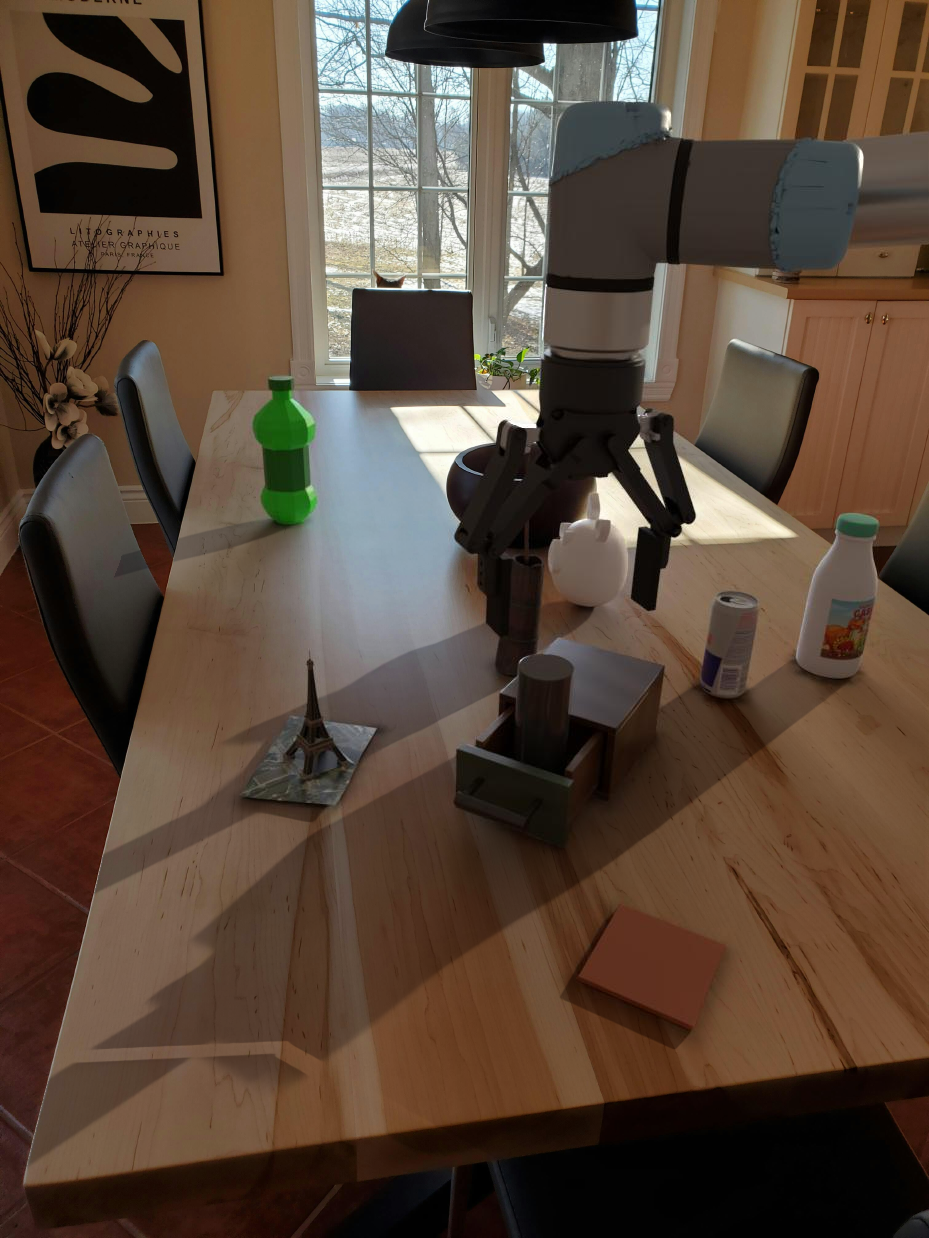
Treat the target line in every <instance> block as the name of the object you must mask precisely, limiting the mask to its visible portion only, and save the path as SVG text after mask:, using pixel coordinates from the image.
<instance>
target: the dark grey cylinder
mask: <svg viewBox="0 0 929 1238" xmlns="http://www.w3.org/2000/svg"><path fill="white" fill-rule="evenodd" d="M516 677H517V691H516V710H515V729H514V748H513V760H515V761H518V762H521V763H524V764H527V765H530V766H533V767H536V768H539V769H542V770H545V771H548V772H551V773H554V774H557V775H560V776H563V777H564V773H565V769H566V761H567V750H568V738H569V726H570V714H571V702H572V690H573V678H574V666H573V665H572V663H571V662H570V661H568V660H567V659H565V658H563V657H560V656H557V655H552V654H542V653H537V654H533V655H529V656H527V657H524V658H523V659H521V660H520V662H519V663H518V672H517V676H516Z"/></svg>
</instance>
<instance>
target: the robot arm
mask: <svg viewBox="0 0 929 1238" xmlns="http://www.w3.org/2000/svg"><path fill="white" fill-rule="evenodd" d="M673 135H674V129H673V128H672V113H671V109H669V107H667V105H664V104H662V103H657V102H653V101H652V102H649V101H625V100H593V101H581V102H576V103H572V104H570V105H568V106H567V107H566V108H565V109H563V111H562V112H561V113H560V115H559V116H558V118H557V122H556V128H555V139H554V147H553V156H552V157H553V158H552V167H551V174H550V175H551V176H550V177H549V179H548V187H549V198H548V199H549V200H548V230H547V231H548V232H547V252H546V253H547V254H546V255H547V257H546V274H545V286H544V303H543V306H544V307H543V320H542V338H541V340H542V341H543V343H544V344H545V345H547V346H548V347H549V349H546V350H545V351H544V352H543V353H542V354H541V356H540V364H539V365H540V367H539V386H538V403H539V415H538V417H537V420H536V421H535V423H534V424H523V423H522V424H521V423H515V422H513V421H511V420H510V419H503V420H501V421H500V422H499V424H498V426H497V431H496V437H495V438H496V439H495V445H494V451H493V453H492V455H491V457H490V459H489V461H488V463H487V465H486V467H485V470H484V471H483V474H482V476H481V478H480V480H479V482H478V484H477V486H476V488H475V490H474V492H473V495H472V497H471V498H470V501H469V503H468V505H467V507H466V509H465V511H464V513H463V515H462V518H461V520H460V522H459V523H458V526H457V528H456V530H455V532H454V535H453V538H454V541H455V542H456V544H458V545H459V546H460V547H461V548H463V549H464V551H465V552H467V553H468V554H470V555H477V573H476V574H477V578H476V581H477V582H476V585H477V587H478V589H479V591H480V592H481V593H482V594H483V595H484V596H485V597H486V601H485V602H486V603H485V605H486V606H485V624H486V625H487V626H488V627H489V629H491V630H492V631H493V632H494V633H495V634H496V636H497V637H499V638H500V637H504V636H508V634H509V613H510V591H511V570H512V558H513V557H512V556H509V555H508V554H507V553H506V550H507V549H508V548H509V546H510V545H511V544H512V543H513V541H515V539H516V538H517V536H518V535H519V534H520V533H521V531H522V530H523V529H524V528H525V525H526V523H527V522H528V521H529V522H530V520H531V518H532V517H533V516H534V515H535V513H536V512H537V510H538V509H539V508H540V507H541V506H542V504H543V503H544V501H545V500H546V499H547V498H548V496H549V495H550V494H551V493H552V492H553V491H555V490H558V489H559V488H560V487H561V486H562V485H563V484H564V482H565V480H566V479H568V480H570V481H571V482H576V481H582V480H586V479H588V478H590V477H592V478H597V479H603V478H604V479H605V478H608V477H609V474H612V476H614V478H615V479H616V481H618V483H619V485H620V486H621V488H623V490H624V491H625V493H626V494H627V495H628V498H630V500H631V501H632V502H633V504H634V505H635V507H636V508H637V510H638V511H639V512H640V513H641V514H642V517H643V518H644V519H645V520H646V522H647V524H648V525H650V526H649V527H648V526H647V525H644V526H638V528H637V537H636V546H635V554H634V555H635V556H634V565H633V572H632V573H633V574H632V583H631V591H630V600H631V601H633V602H634V603H636V604H637V605H638V606H640V607H641V608H643V609H644V610H645V611H647V612H651V611H656V609H657V601H658V594H659V587H660V586H659V585H660V578H661V570H663V569H666V568H667V566H668V564H669V561H670V560H669V559H670V551H671V543H672V538H673V539H675V538H676V539H677V538H678V537H680V536H681V534H682V532H683V525H692V524H693V523H694V522H695V520H696V518H697V513H696V510H695V506H694V504H693V500H692V497H691V494H690V491H689V487H688V485H687V481H686V478H685V475H684V472H683V468H682V466H681V462H680V458H679V456H678V453H677V449H676V447H675V446H676V445H675V443H674V435H675V434H674V431H675V419H674V416H673V415H671V414H670V413H667V412H664V411H662V410H659V409H657V408H654V407H649V408H647V409H645V410H644V412H643V413H642V414H638V407H639V406H640V405H641V404H642V401H643V394H644V393H643V392H644V382H645V373H646V365H647V364H646V363H647V360H646V359H645V358H644V355H643V354H641V353H640V351H641V350H644V349H645V348H647V346H648V345H649V341H650V330H651V318H652V309H653V297H654V287H655V273H656V268H657V264H668V265H672V266H673V265H677V266H679V265H693V266H695V265H696V266H706V267H707V266H709V267H723V268H724V267H725V268H741V269H757V270H758V269H761V270H778V271H780V272H781V273H786V274H790V273H792V272H798V271H828V270H832V269H834V268H836V267H837V266H839V265H840V263H841V262H843V260H844V258H845V257H846V253H847V251H848V250H861V249H875V248H877V249H878V248H890V247H892V248H893V247H907V246H921V245H922V246H923V245H924V246H925V245H929V130H928V131H927V130H926V131H917V132H907V133H900V134H889V135H881V136H879V135H878V136H869V137H861V138H851V139H850V138H849V139H843V140H823V139H820V138H815V137H812V136H811V137H803V138H800V139H799V138H798V139H797V138H794V139H793V138H792V139H791V138H788V139H786V138H785V139H779V138H778V139H775V138H774V139H769V138H768V139H767V138H766V139H765V138H764V139H763V138H762V139H709V140H708V139H707V140H705V139H703V140H699V139H698V140H695V139H694V138H684V137H677V136H676V137H675V136H673ZM638 437H640V439H641V440H643V445H644V448H645V452H646V454H647V457H648V460H649V463H650V466H651V469H652V472H653V475H654V478H655V482H656V484H657V487H658V489H659V493H660V495H661V498H662V501H661V499H660V498H659V496H658V495H657V493H656V492H655V490H654V489H653V487H652V486H651V485H650V483H649V481H648V480H647V479H646V477H645V475H643V473H642V472H641V471H642V468H641V467H640V465H639V463H638V462H637V460H636V459H635V458H634V457H633V455H632V454H631V452H630V448H631V447H632V445H633V444H634V443H635V441H636V440H637V438H638ZM533 444H536V445H537V447H538V448H539V451H538V453H537V454H536V455H535V456H534V457H533V458H532V460H530V464H529V465H528V468H527V473H526V475H525V474H524V475H523V477H522V478H521V480H520V481H519V482H518V484H517V485H516V486H515V488H514V489H513V490H512V491H511V493H510V494H509V492H510V490H511V488H512V486H513V484H514V482H515V480H516V478H517V475H518V474H519V471H520V470H521V466H522V465H523V461H524V459H525V458H524V457H525V456H526V454H528V453H529V452H530V453H531V451H532V445H533ZM549 467H551V468H550V470H548V469H549ZM508 494H509V495H508Z"/></svg>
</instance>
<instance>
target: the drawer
mask: <svg viewBox="0 0 929 1238" xmlns="http://www.w3.org/2000/svg"><path fill="white" fill-rule="evenodd" d="M515 710H516V705H515V704H512V705H511V706H510V707H509V708H508V709H507V710H506V711H505V712H504V713H503V714H502V715H501V716H500V717H499V718H498V717H497V718H496V720H494V721H493V722H492V723H491V724H490V725H489V726H488V727H487V728H486V729H485V730H484V731H483V732H482V733H481V734H480V735H479V736H478V737H477V738H476V739H475V746H473V745H471V744H467V743H465V742H462V743H461V744H460V745H458V746H457V747H456V750H455V751H456V753H455V754H456V755H455V794H454V795H455V796H454V798H453V805H454V808H455V809H459V810H461V811H464V812H467V813H469V814H472V815H475V816H478V817H479V818H483V819H486V820H488V821H490V822H493V823H496V824H498V825H501V826H504V827H507V828H509V829H512V830H515V831H517V832H520V833H523V834H525V835H528V836H530V837H533V838H536V839H539V840H541V841H544V842H547V843H549V844H552V845H554V846H557V847H559V848H562V849H563V848H565V846H567V844H568V842H569V839H570V828H571V824H572V822H573V821H574V819H575V818H576V817H577V816H578V814H579V812H580V811H581V810H582V808H583V807H584V806H585V804H586V803H587V802H588V800H589V799H590V798H591V795H592V793H593V792H594V791H595V789H596V788H597V786H598V785H599V784H600V782H601V781H602V780H603V774H604V765H605V756H606V746H607V737H608V733H607V732H604V731H600V730H597V729H594V728H590V727H587V726H584V725H581V724H577V723H574V722H571V721H570V726H569V738H568V750H567V761H566V769H565V773H564V777H563V776H560V775H557V774H554V773H551V772H548V771H545V770H542V769H539V768H536V767H533V766H530V765H527V764H524V763H521V762H518V761H515V760H513V748H514V729H515Z"/></svg>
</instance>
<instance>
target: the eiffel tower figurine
mask: <svg viewBox="0 0 929 1238" xmlns="http://www.w3.org/2000/svg"><path fill="white" fill-rule="evenodd" d="M305 665H306V666H307V694H306V695H307V697H306V698H307V700H306V711H305V715H303V716H302V717H301V716H296V715H290V716H289V717H288V719H287V720H286V721H285V724H284V725H283V727H282V729H281V730H280V732H279V733H278V735H277V736H276V737H275V739H274V740H273V743H271V745H270V747H269V748H268V750H267V752H266V753H265V754H264V757H263V758H262V760H261V761H260V762H259V764H258V766H257V767H256V769H255V770H254V772H253V773H252V775H251V777H250V778H249V780H248V782H247V783H246V785H245V787H244V788H243V790H242V791H241V793H240V794H239V797H242V798H251V799H262V800H273V801H283V802H284V801H285V802H293V803H305V804H307V803H308V804H319V805H320V804H321V805H329V806H330V805H331V806H336V805H337V804H338V802H339V801H340V799H341V798H342V796H343V794H344V792H345V790H346V789H347V787H348V785H349V783H350V781H351V779H352V776H353V774H354V771H355V770H356V767H358V763H359V761H360V759H361V756H362V754H363V753H364V751H365V749H366V747H367V746H368V744H369V743H370V741H371V740H372V738H373V736H374V734H375V733H376V731H377V729H378V728H377V727H371V726H365V725H357V724H349V723H341V722H334V721H329V720H324V717H323V716H322V713H321V710H320V705H319V699H318V694H317V687H316V680H315V672H314V666H315V663H314V660H312V659H311V651H310V650H308V659H307V660H306V664H305Z"/></svg>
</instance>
